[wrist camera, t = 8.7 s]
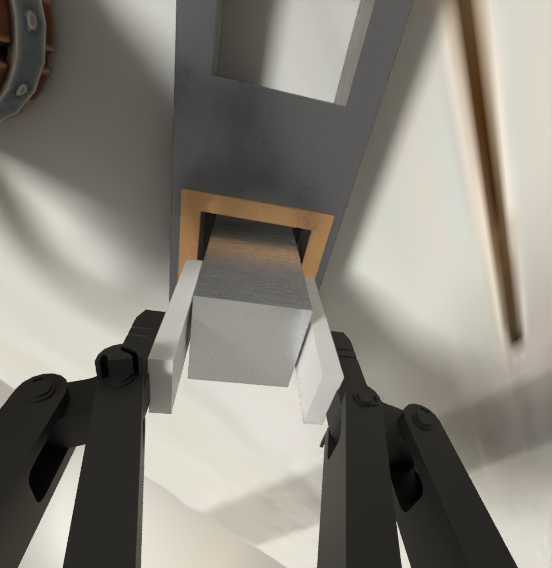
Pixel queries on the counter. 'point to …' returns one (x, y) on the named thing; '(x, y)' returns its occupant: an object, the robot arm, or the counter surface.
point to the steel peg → (249, 305)
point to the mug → (23, 52)
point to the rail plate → (271, 136)
